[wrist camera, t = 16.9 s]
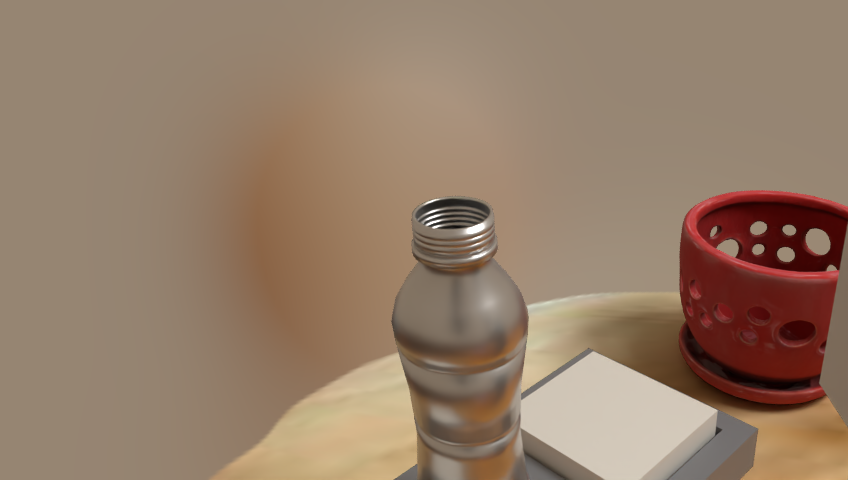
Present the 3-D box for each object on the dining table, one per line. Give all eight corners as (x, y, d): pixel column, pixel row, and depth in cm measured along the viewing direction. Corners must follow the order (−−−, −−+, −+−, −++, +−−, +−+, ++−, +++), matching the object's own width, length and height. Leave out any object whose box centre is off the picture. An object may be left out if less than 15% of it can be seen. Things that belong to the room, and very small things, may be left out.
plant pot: (652, 397, 55) (661, 250, 50) (693, 308, 65) (704, 178, 60) (856, 448, 49) (891, 286, 44) (867, 342, 59) (896, 200, 54)
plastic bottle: (452, 616, 38) (416, 263, 29) (399, 524, 43) (356, 204, 35) (561, 565, 40) (559, 221, 31) (497, 483, 46) (480, 173, 37)
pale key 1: (715, 435, 47) (717, 410, 46) (623, 518, 42) (625, 492, 41) (593, 374, 54) (593, 351, 53) (501, 439, 49) (499, 414, 48)
